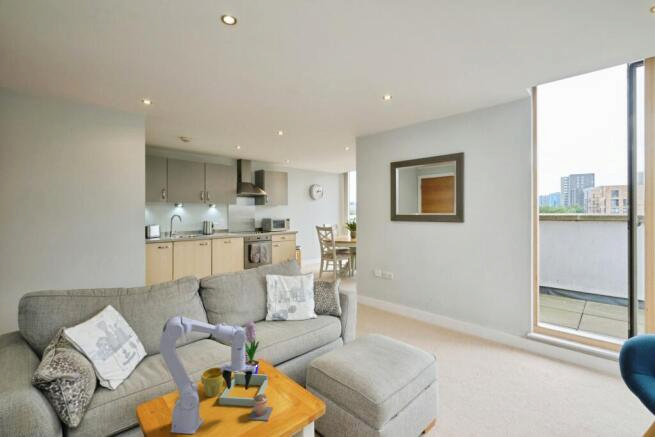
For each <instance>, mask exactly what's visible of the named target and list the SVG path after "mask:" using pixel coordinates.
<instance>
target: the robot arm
mask: <svg viewBox="0 0 655 437" xmlns="http://www.w3.org/2000/svg"><path fill="white" fill-rule="evenodd" d="M191 332H197V333H203V334H210V335H212V337H213V338H215V339H217V340H222V341H227V342H228V341H229V342H231V346H230V349H231V350H230V351H231V352H230V353H231V354H230V357H231V360H230V364H223V365H221V366H220V368H221V372H223V374H222V377H223V378H224V381H225V383H226V388H228V389H230V387H231V381H232V375H233V374H234V373H244V372H247V373H246V374H245V383H246V384H244V385H245V386H244V388H245V390H246V391H248V390H249V386H250V385H249V382H250V379H251V376H252V374H253V373H255V371H256V366H251V365H247V364H245V361H246V351H245V350H246V348H245V343H246V342H247V340H246V339H247V336H246V333H247V332H246V331H245V330H244V328H243V327H242V326H239V325H234V326H232V325H227V324H226V322H222V323H217V324H215V325H213V324H211V323H208V322H204V321H200V320H196V319H192V318H189V317H187V316H179V315H173V316H171V317H169V318H168V319H167V321H166V322H165V324H164V325H163V328H162V332H161V336H160V339H159V344H158V351H159V352H160V355H161V357H162V360H163V361H164V363H165V364H166V366H167V369H168V372H169V373H170V375H171V377H172V379H173V382H174V383H175V385H176V387H177V391H178V394H179V397H180V398H181V402H179V403H177V404H176V403H175V404H176V405H175V404H174V407H173V409H172V412H171V430H170V433H178V434H188V435H189V434H190V435H191V434H192V435H194V434H195V433H196V431H197V430H198V429H199V427H200V426H201V425H202V423H203V422H204V421H205V419H204V418H200V397H199V393H198V384H197V383H196V382H194V381H193V380H192V378H191V377H190V376H189V375H188V373H187V370H186V368H185V366H184V363H183V362H182V360H181V357H180V355H179V354H178V351H177V349H176V347H175V344H176V343H177V341H178V340H179V339H180V338H181V337H182V336H183V335H184V336H186V335H188V334H190V333H191ZM245 332H246V333H245Z"/></svg>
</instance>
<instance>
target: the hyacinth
mask: <svg viewBox="0 0 655 437" xmlns="http://www.w3.org/2000/svg"><path fill="white" fill-rule="evenodd" d="M244 327H245V330H244V331H245V333H246V336H247V339H246V342H245V353H247V356H248V357H249V359H248V360H245V364H247V365H251V366H256V371H255V373H253V374H259V373H258V372H259V367H260V366H259V365H260V361H259V360H257V359H254V357H255V354H256V351H257V349H258V347H259V343H260V341H257V342H256V339H257V333H256V332H257V327H256V324H255V323H254V321H252V320H248V321H247V323H246V324H245V326H244ZM247 342H248V343H249V344H250V347H249V345H248V344H247ZM243 373H247V372H243Z"/></svg>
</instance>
